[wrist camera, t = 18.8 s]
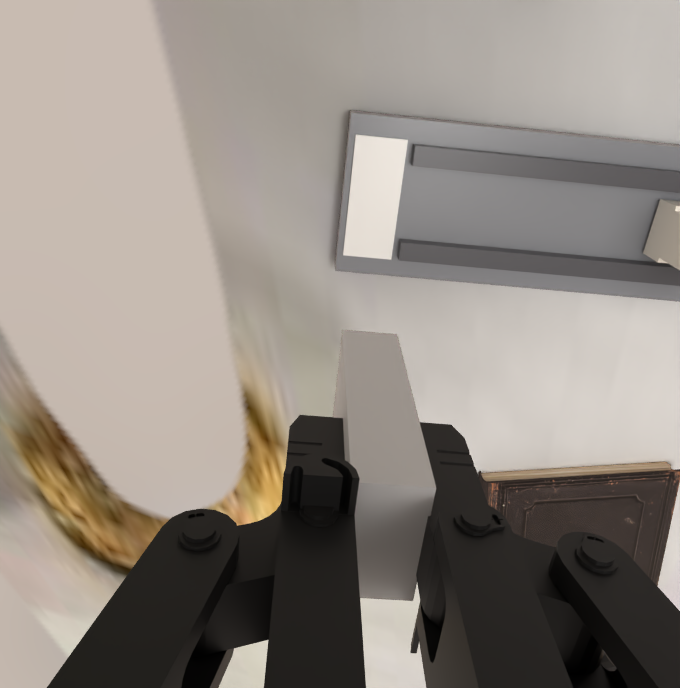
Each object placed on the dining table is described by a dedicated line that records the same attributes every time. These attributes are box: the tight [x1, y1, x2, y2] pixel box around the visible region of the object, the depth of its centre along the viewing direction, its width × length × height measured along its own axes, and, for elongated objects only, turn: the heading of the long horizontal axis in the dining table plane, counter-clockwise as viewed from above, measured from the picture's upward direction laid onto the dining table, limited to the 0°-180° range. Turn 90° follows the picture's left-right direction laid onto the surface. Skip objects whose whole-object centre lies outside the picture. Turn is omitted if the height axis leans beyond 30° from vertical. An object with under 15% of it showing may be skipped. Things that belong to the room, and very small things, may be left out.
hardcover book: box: [478, 462, 680, 666], centre depth 55 cm, size 16×23×2 cm
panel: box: [335, 110, 680, 301], centre depth 40 cm, size 10×28×3 cm, turn 84°
